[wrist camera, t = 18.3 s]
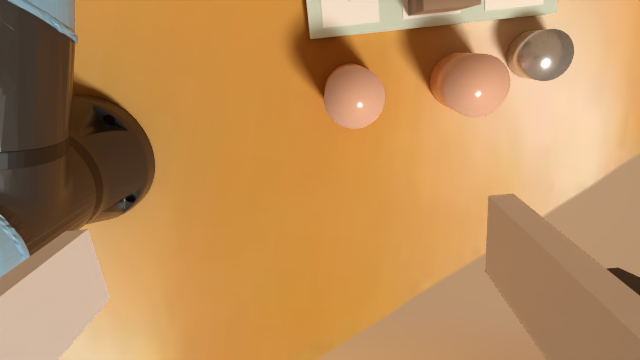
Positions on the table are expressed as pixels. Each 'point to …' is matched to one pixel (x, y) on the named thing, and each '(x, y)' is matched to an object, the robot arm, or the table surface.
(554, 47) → the tin
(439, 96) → the pink capsule pill
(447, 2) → the walnut block
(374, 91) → the peach capsule
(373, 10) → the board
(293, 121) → the table surface
